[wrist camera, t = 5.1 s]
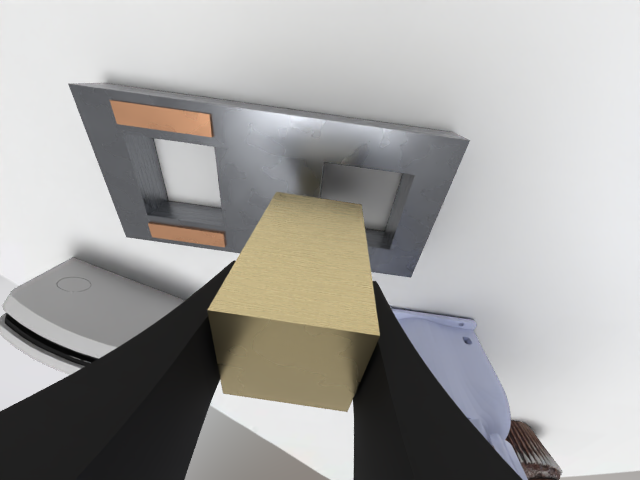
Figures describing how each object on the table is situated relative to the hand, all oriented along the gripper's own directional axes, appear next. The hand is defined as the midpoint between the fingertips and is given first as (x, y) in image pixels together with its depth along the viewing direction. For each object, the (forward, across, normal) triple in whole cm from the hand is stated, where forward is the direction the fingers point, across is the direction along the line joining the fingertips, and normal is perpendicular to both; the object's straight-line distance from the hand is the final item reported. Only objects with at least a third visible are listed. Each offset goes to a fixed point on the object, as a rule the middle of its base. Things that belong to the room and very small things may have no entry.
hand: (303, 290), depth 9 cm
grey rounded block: (+11, +16, +15) cm, 24 cm away
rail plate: (+10, +3, 0) cm, 11 cm away
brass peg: (+4, 0, 0) cm, 4 cm away
